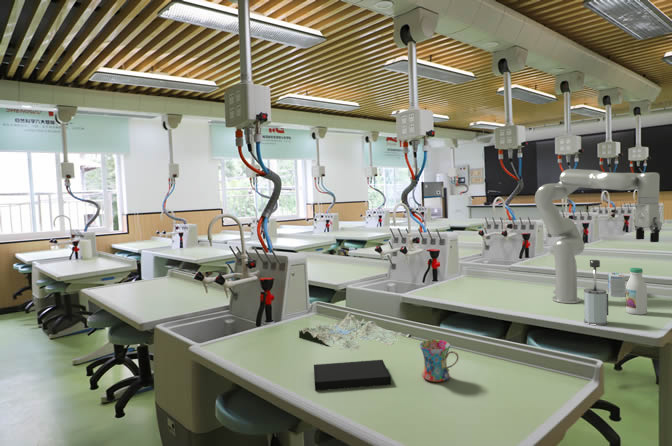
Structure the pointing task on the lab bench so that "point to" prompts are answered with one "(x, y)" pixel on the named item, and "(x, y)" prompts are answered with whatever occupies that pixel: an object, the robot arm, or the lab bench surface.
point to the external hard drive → (351, 375)
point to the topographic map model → (348, 333)
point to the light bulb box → (616, 284)
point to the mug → (436, 360)
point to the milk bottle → (636, 293)
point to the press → (595, 306)
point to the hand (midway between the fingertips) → (647, 240)
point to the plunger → (595, 264)
